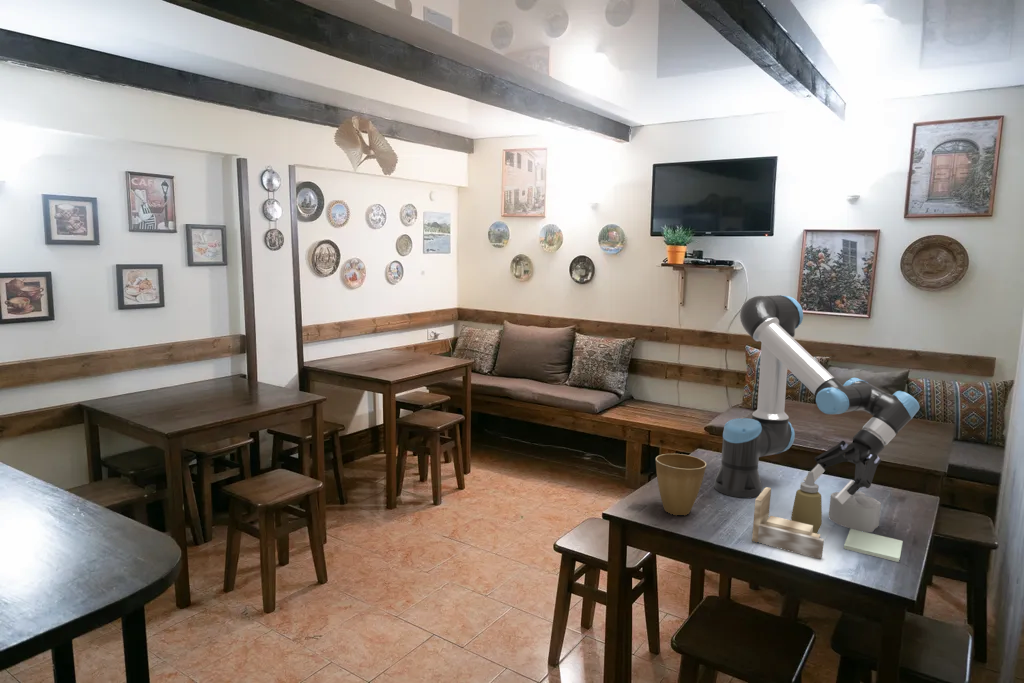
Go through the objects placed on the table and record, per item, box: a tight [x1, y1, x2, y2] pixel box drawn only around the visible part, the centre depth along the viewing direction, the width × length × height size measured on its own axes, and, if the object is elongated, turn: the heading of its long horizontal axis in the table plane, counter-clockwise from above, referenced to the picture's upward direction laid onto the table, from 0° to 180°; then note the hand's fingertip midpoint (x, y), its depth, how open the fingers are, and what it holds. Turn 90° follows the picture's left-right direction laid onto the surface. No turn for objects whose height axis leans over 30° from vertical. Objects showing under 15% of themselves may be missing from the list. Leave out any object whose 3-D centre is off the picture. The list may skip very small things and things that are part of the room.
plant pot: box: [655, 453, 707, 516], centre depth 199 cm, size 15×15×16 cm
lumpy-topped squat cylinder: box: [828, 490, 882, 533], centre depth 195 cm, size 10×13×9 cm
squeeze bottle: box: [790, 471, 823, 534], centre depth 186 cm, size 8×8×18 cm
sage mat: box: [843, 528, 904, 563], centre depth 179 cm, size 13×13×1 cm
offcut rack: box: [751, 487, 825, 560], centre depth 180 cm, size 18×12×12 cm
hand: (821, 491), depth 185 cm, fingers open, 13 cm apart
